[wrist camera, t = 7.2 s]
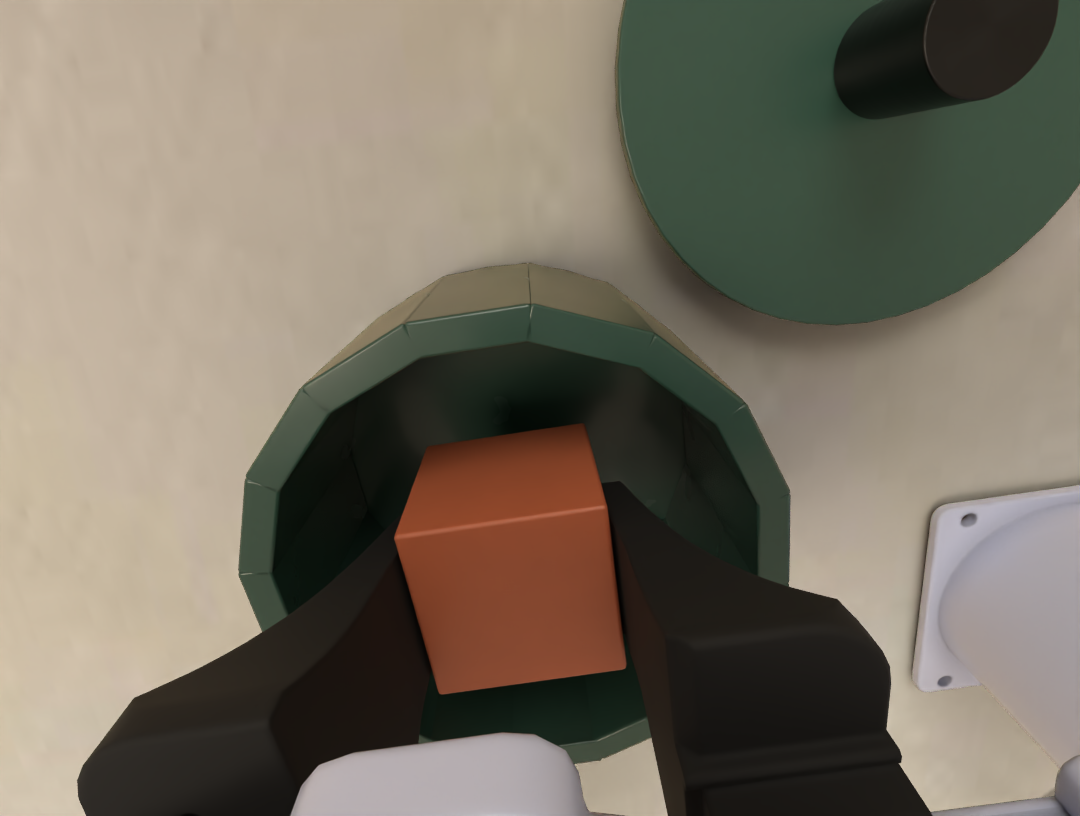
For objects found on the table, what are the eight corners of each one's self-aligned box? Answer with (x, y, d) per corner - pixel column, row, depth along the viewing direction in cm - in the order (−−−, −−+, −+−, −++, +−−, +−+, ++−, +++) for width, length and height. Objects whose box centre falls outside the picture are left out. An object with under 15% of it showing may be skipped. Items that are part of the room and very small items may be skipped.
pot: (693, 234, 15) (795, 262, 10) (709, 574, 20) (788, 736, 14) (285, 298, 16) (147, 361, 10) (385, 620, 20) (330, 797, 14)
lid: (1175, -318, 12) (1514, -581, 8) (1063, 281, 16) (1240, 312, 12) (582, -213, 12) (612, -411, 8) (633, 346, 17) (669, 397, 13)
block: (584, 421, 14) (607, 505, 10) (602, 554, 15) (627, 671, 12) (426, 445, 14) (391, 537, 10) (458, 575, 16) (438, 697, 12)
